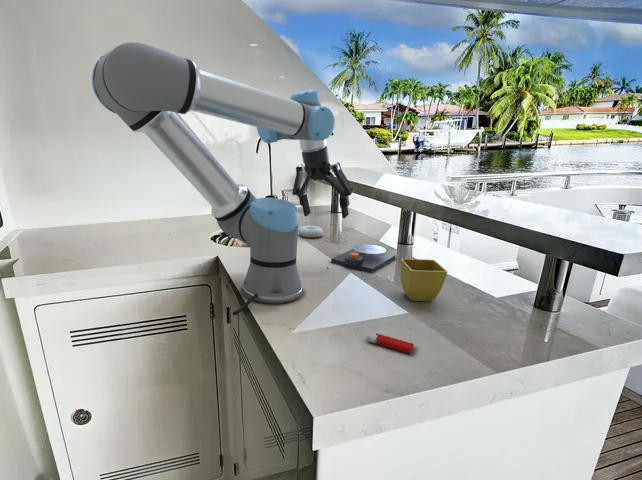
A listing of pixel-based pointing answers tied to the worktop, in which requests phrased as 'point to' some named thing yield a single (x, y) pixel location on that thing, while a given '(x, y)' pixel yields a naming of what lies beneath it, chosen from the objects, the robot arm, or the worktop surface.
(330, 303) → the worktop surface
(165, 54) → the robot arm
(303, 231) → the donut
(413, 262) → the flower pot
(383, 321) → the worktop surface
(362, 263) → the scale
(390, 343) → the lighter
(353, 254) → the tare button
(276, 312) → the worktop surface
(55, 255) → the worktop surface
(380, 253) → the scale pan
